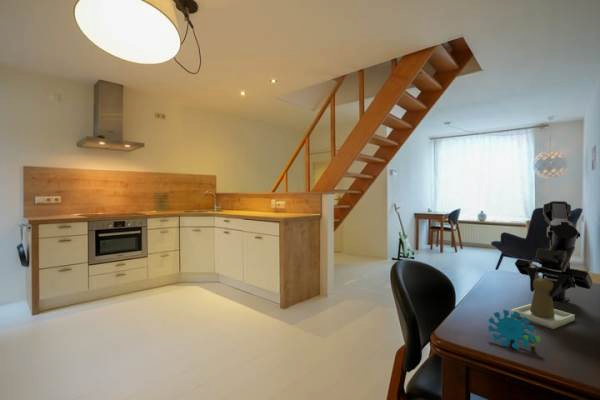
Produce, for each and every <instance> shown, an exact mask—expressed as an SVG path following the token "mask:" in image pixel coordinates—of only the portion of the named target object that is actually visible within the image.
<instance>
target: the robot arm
mask: <svg viewBox="0 0 600 400" xmlns="http://www.w3.org/2000/svg"><path fill="white" fill-rule="evenodd" d="M542 215H543V216H544V221H545V222H546V223H547V224H548V226H547V227H546V237H547V238H548V239H549V249H548V248H540V247H539V248H537V251H536V254H535V259H537V260H538V264H539V265H541V266H539V265H537V264H534V263H533V261H532V260H528V259H524V258H518V259H516V260H515V262H514V265H515V266H516V268H517V270H518V273H520V274H521V275H524V276H528V277H529V286H530V287H529V288H530V292H532V293H534V291H535V287H534V286H533V281H534V280H535V279H537V278H543V279H547V280H550V281H552V282H553V283H554V287H553V289H552V291H551V294H550V296H551V297H552V299H553V300H554V301H558V302H561V303H563V302H566V301H569V300H571V299H570V297H568V296H566V295H567V290H569V289H570V288H574V289H576V287H578V288H583V289H586V290H591V289H592V287H593V280H592V277H591V275H590V273H589V272H588V271H587V270H584V269H583V270H582V269H578V268H571V263H570V260H571V257H572V256H573V253H574V251H575V250H576V249H575V248H576V246H575V245H576V242H577V240H578V239H579V238H581V233H580V231H578V230H577V228H576V227H575V226H574V222H572V221H570V220H569V217H571V215H572V205H571V204H570V203H569V204H568V202H567V201H564V200H551V201H549V202H548V203H545V204H543V207H542ZM539 274H541V277H540V276H539Z"/></svg>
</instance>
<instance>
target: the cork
mask: <svg viewBox="0 0 600 400" xmlns="http://www.w3.org/2000/svg"><path fill="white" fill-rule="evenodd" d="M533 286H534V287H535V290H534V291H533V295H532V300H531V301H532V302H531V303H530V304H531V309H530V312H531V313H533V314H536V315H539V316H543V317H550V318H552V317H555V316H554V309H555V308H554V301H553V299H552V297H551V296H550V294H551V291H552V289H553V287H554V283H553V282H552V281H550V280H547V279H543V278H542V277H540V278H537V279H535V280H534V281H533Z"/></svg>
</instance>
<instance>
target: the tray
mask: <svg viewBox="0 0 600 400" xmlns="http://www.w3.org/2000/svg"><path fill="white" fill-rule="evenodd" d="M531 304H532V303H529V304H525V305H521V306H519V307H518V306H517V307H515V308H512V309H511V310H510V312H511V313H510V316H511V317H512V316H513V314H514V312H515V311H516V312H518V313H519V314H520V317H518V318H519V319H520V320H521V319H523V318H524V317H527V318H528V320H529V323H532V324H533V323H534V324H537V325H539V326H542V327H545V328H548V329H552V330H556V329H557V328H560V327H562V326H564V325H567V324H569V323H571V322H574V321H575V318H576V317H575V316H576V314H574V313H570V312H567V311H566V312H565V311H564V310H559V309H556V308H554V316H555V317H552V318H550V317H543V316H539V315H536V314H533V313H531V312H530V309H531Z"/></svg>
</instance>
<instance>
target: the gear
mask: <svg viewBox="0 0 600 400" xmlns="http://www.w3.org/2000/svg"><path fill="white" fill-rule="evenodd" d="M502 313H503V315H504V316H503V318H500V317H501V313H500V312H499V311H497V312H494V313H493V314H494V317H495V318H496V319H497V320H498V322H496V321H495V319H494V318H493V317H490V318H489V319H488V323H489V324H490V325H488V328H487V329H488V331H489V332H492V338H493V340H494V341H498V340H499V339H503V340H501V341H500V344H501V345H502V346H504V347H506V348H507V346H508V344H509V342H512V341H514V342H512V344H511V347H512V348H513V349H514V350H519V349H520V347H519V344H518V342H519V340H522V342H521V343H522V344H521V345H522V346H523V348H527V347H530V346H531V347H534V348H535V345H536V344H537V343H540V342H541V340H542V339H541V336H540V335H534V334H531V333H535V326H534V325H528V324H530V321H529V320H528V318H527V317H524V318H523V319H521V318H520V319H517V318H518V317H520V314H519V313H518V312H516V311H515V312H514V314H513V316H512V315H511V316H510V310H507V309H503V310H502ZM508 316H510V317H508ZM522 323H524V324H525V325H524V324H522ZM491 324H492V325H494V326H495V327H496V328H495V327H494V326H492V325H491ZM526 324H527V325H526ZM526 330H528V331H529V332H531V333H528V332H527V331H526ZM493 332H496V333H493ZM497 333H498V334H497Z"/></svg>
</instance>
